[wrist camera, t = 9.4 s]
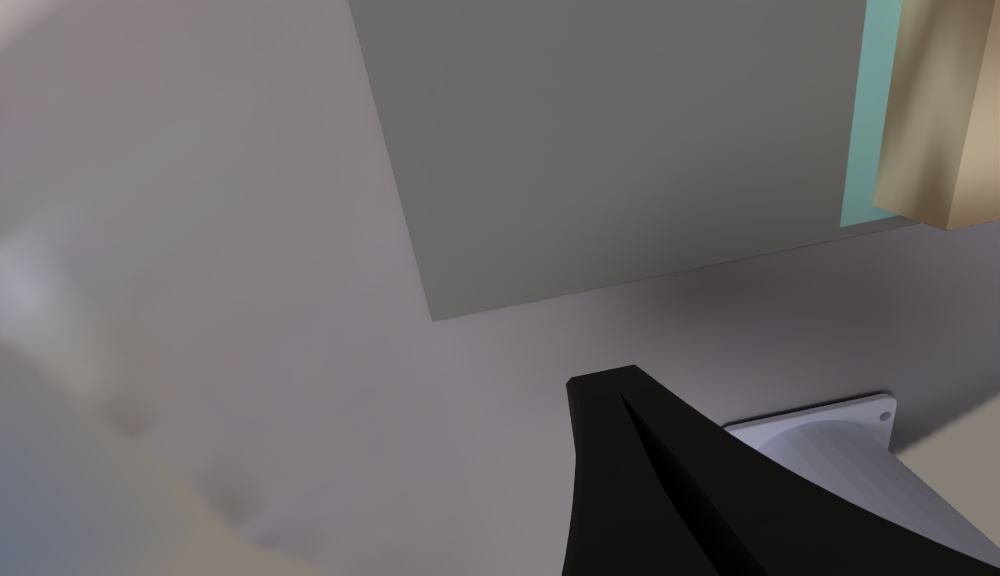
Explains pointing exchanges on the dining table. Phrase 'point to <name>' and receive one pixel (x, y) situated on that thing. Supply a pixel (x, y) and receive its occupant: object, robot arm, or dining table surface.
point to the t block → (943, 115)
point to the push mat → (624, 135)
